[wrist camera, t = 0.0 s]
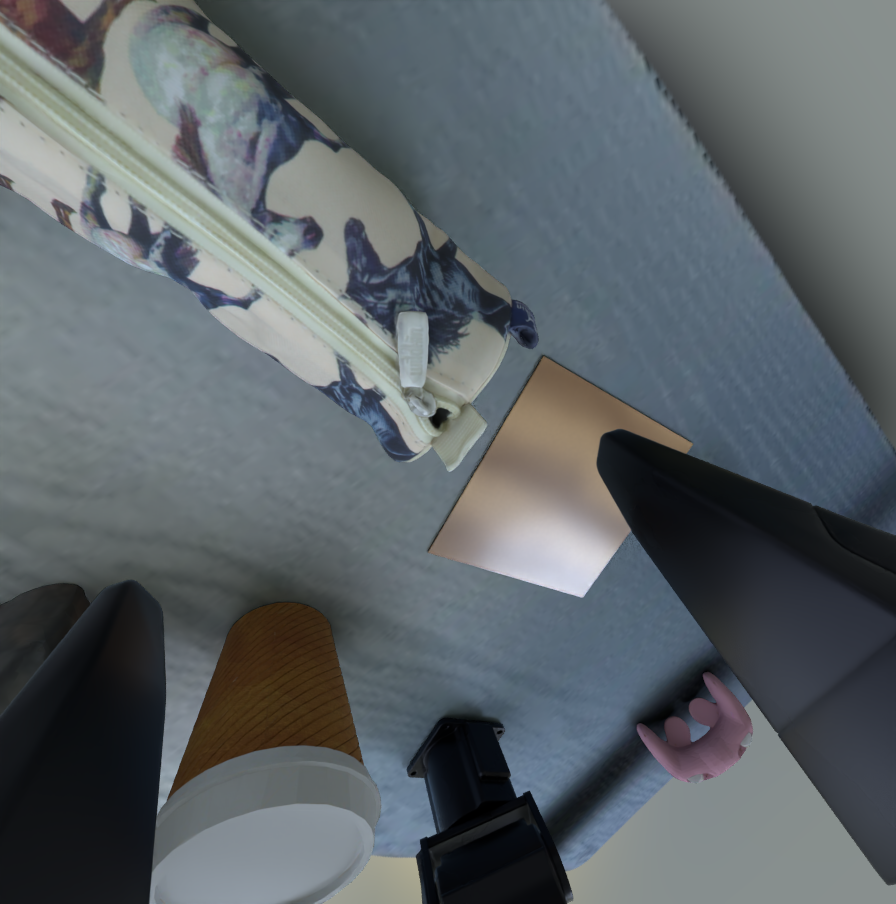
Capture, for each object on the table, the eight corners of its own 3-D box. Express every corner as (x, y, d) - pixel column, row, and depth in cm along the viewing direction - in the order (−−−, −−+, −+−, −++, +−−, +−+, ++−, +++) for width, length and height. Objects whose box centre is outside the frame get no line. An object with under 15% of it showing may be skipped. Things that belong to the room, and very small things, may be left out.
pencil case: (490, 297, 23) (599, 330, 15) (391, 425, 24) (437, 524, 16) (-34, -203, 13) (-688, -1057, 4) (-154, 66, 14) (-826, -188, 6)
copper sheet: (581, 596, 35) (582, 597, 35) (427, 551, 29) (427, 552, 29) (692, 443, 31) (693, 444, 31) (543, 355, 25) (544, 356, 25)
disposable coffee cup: (313, 554, 26) (320, 759, 16) (380, 650, 31) (418, 856, 21) (159, 629, 26) (61, 895, 15) (251, 715, 30) (224, 965, 20)
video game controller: (633, 724, 48) (686, 795, 44) (631, 729, 44) (688, 807, 40) (707, 667, 47) (767, 734, 44) (711, 667, 44) (777, 741, 40)
